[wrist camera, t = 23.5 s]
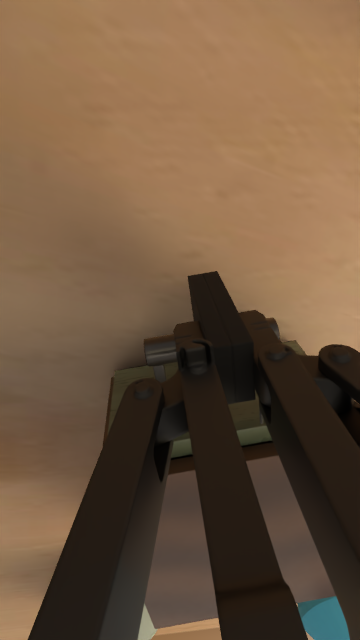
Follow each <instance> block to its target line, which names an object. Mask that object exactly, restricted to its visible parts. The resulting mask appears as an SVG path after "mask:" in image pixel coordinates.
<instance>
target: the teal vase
mask: <svg viewBox="0 0 360 640" xmlns="http://www.w3.org/2000/svg"><path fill="white" fill-rule="evenodd" d="M298 610H299V613H300V616H301V620H302V623H303V626H304V629H305V631H306V632H307V633H308V634H309V635H310V636H311V637H312V638H313V639H314V640H350V637H349V632H348V627H347V623H346V620H345V617H344V615H343V612H342V610H341V607H340V605H339V602H338V600H337V597H336V596H333V597H328V598H322V599H317V600H311V601H306V602H300V603H298Z"/></svg>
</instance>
